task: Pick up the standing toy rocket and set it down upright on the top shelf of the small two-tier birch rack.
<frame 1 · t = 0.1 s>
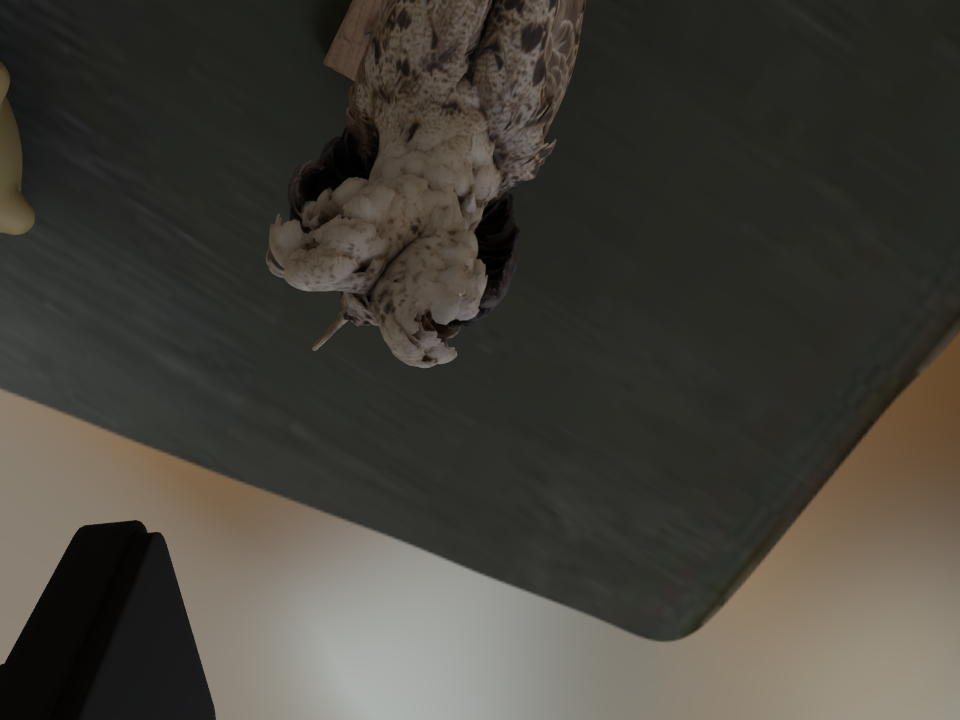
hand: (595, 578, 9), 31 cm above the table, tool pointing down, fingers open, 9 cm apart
stuffed bird: (441, 30, 36), on the table
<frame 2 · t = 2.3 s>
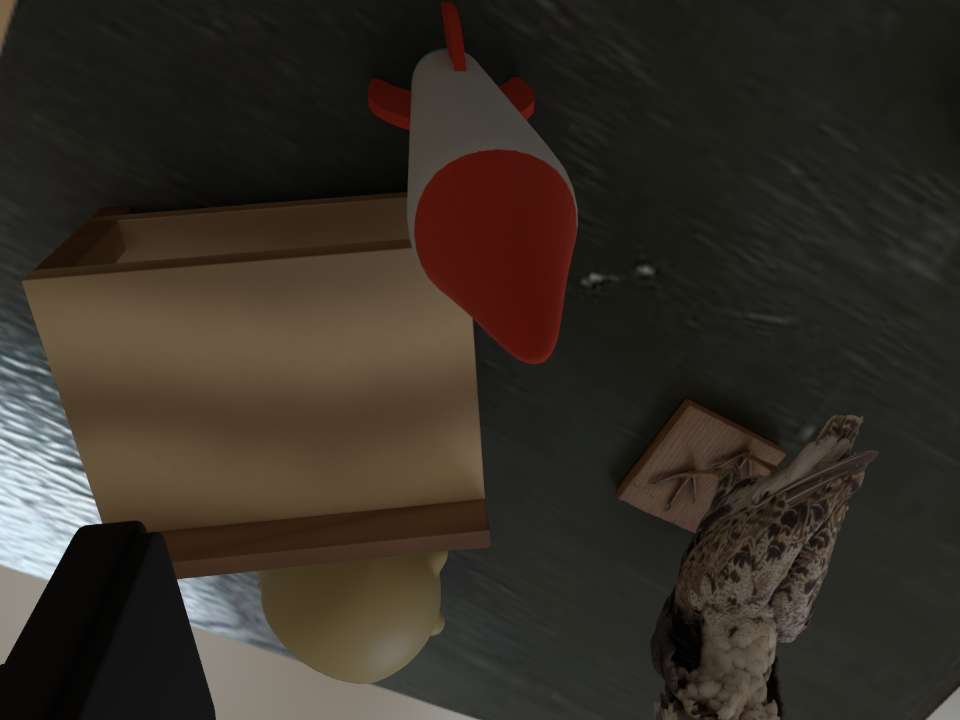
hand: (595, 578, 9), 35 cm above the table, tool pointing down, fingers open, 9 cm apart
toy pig: (353, 529, 53), on the table
rack: (300, 317, 46), on the table
stuffed bird: (693, 469, 53), on the table
toy rocket: (445, 78, 41), on the table
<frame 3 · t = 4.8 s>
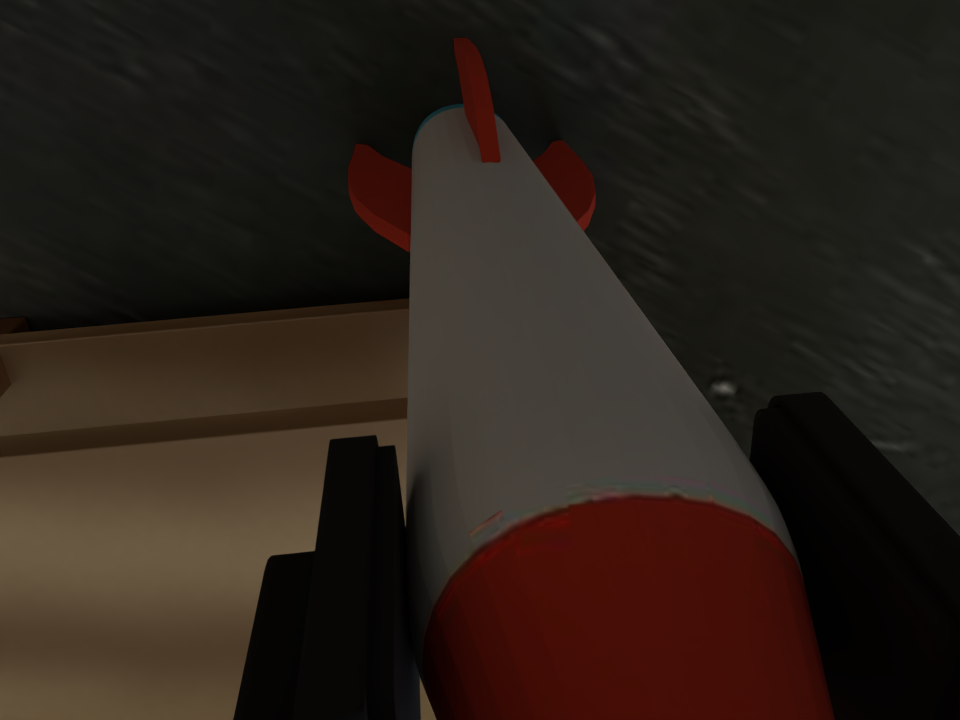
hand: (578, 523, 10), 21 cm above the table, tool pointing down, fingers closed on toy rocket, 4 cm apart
rack: (262, 454, 34), on the table
toy rocket: (459, 142, 29), on the table, touching gripper
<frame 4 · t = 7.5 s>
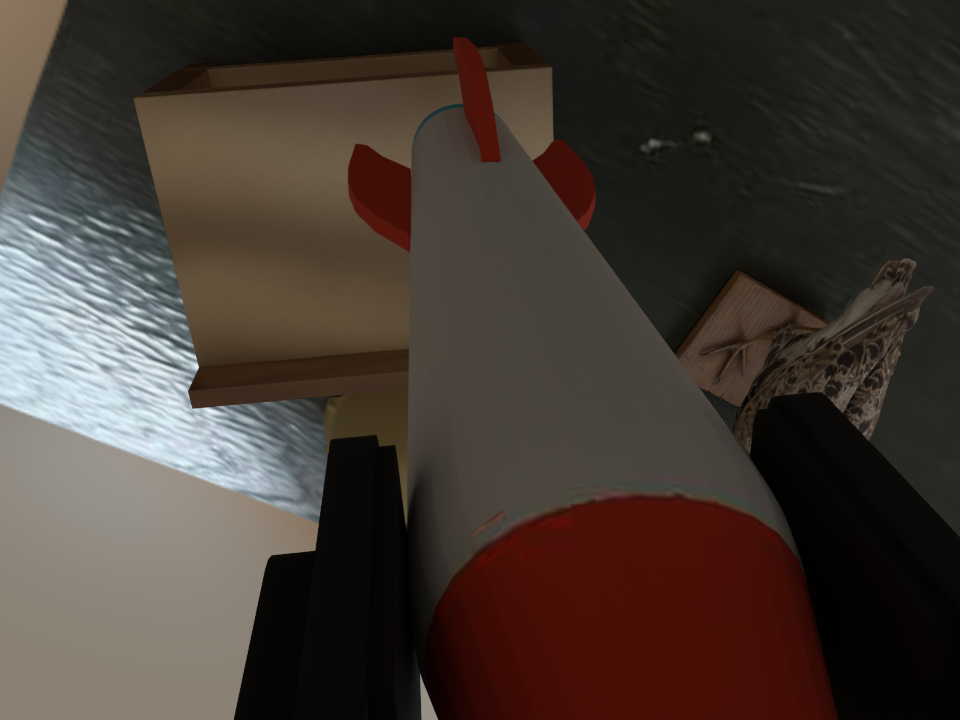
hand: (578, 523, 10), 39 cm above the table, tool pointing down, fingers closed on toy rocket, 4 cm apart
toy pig: (413, 401, 55), on the table
rack: (371, 180, 48), on the table
stuffed bird: (741, 344, 55), on the table
toy rocket: (459, 142, 29), point 18 cm above the table, touching gripper
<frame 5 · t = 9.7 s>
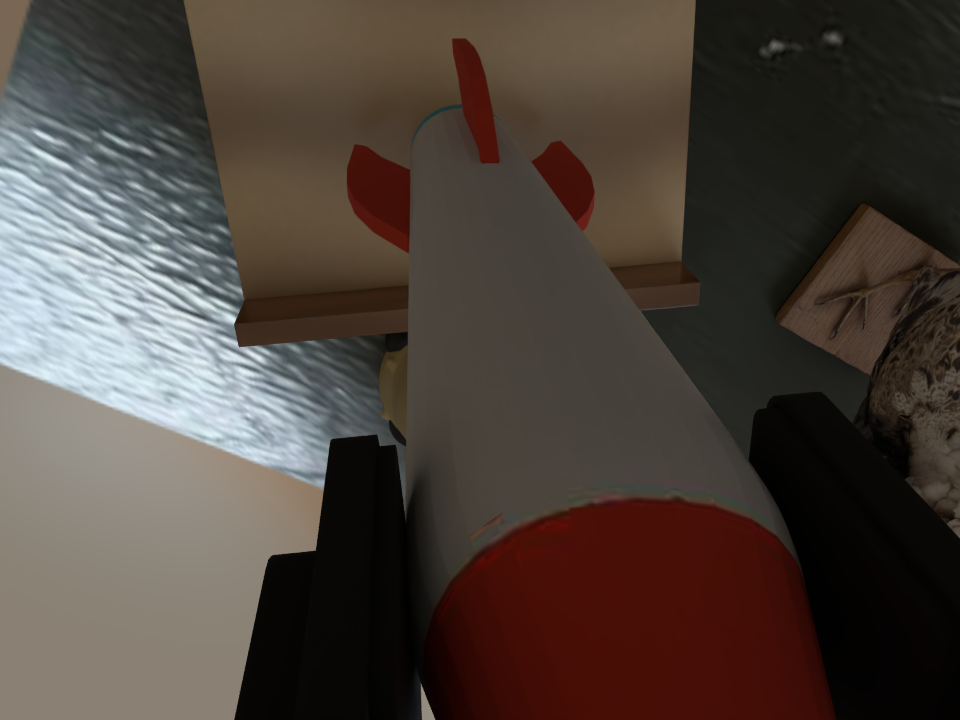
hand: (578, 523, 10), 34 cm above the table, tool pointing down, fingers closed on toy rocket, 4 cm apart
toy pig: (480, 361, 47), on the table
rack: (442, 89, 40), on the table
stuffed bird: (860, 294, 47), on the table
toy rocket: (458, 143, 29), point 12 cm above the table, touching gripper
when the fingers open (31 cm above the table, at t = 10.7 s): toy rocket stays where it is, resting on rack.
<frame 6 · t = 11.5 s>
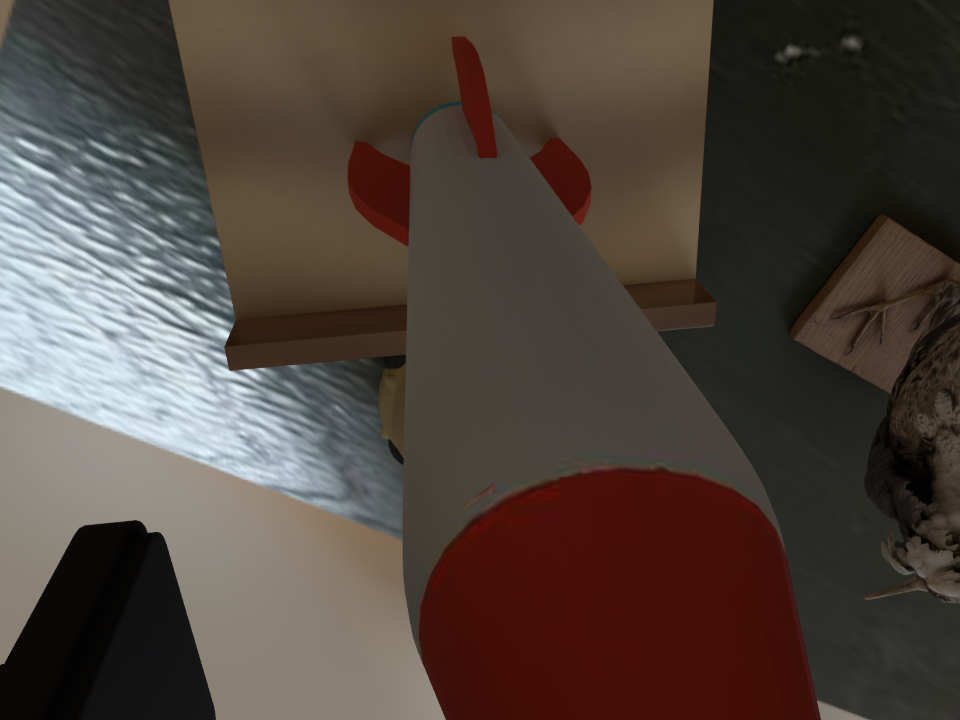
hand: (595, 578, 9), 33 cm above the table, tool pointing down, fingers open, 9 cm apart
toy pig: (483, 377, 45), on the table
rack: (443, 96, 38), on the table
stuffed bird: (877, 307, 46), on the table
toy rocket: (457, 140, 30), point 10 cm above the table, touching rack
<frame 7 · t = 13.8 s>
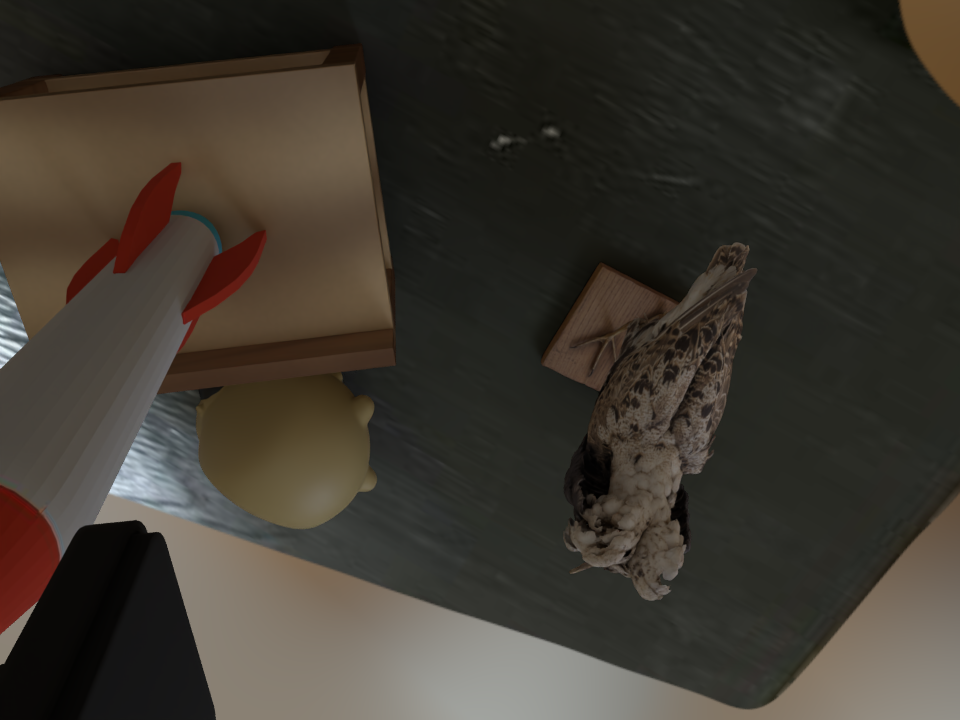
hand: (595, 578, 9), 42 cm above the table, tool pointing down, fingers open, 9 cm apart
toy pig: (292, 402, 56), on the table
rack: (226, 185, 49), on the table
stuffed bird: (614, 337, 56), on the table
toy rocket: (190, 234, 40), point 10 cm above the table, touching rack
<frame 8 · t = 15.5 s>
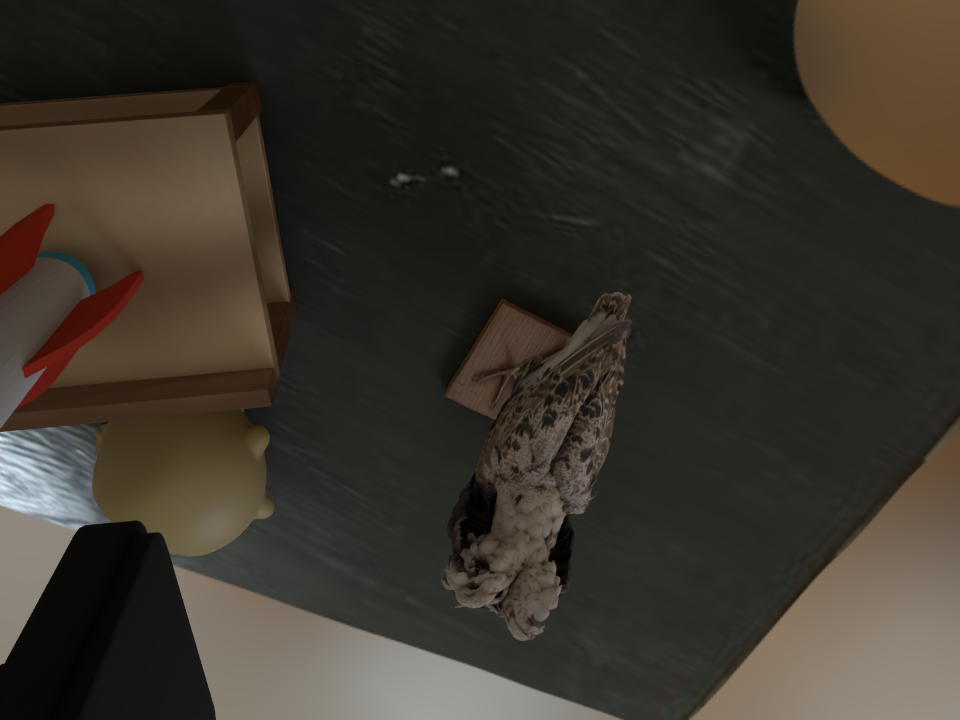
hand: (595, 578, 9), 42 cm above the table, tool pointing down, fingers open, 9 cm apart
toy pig: (197, 426, 56), on the table
rack: (126, 214, 49), on the table
stuffed bird: (518, 370, 56), on the table
toy rocket: (67, 272, 40), point 10 cm above the table, touching rack
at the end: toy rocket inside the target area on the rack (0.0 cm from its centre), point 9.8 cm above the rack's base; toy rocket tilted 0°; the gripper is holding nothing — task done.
